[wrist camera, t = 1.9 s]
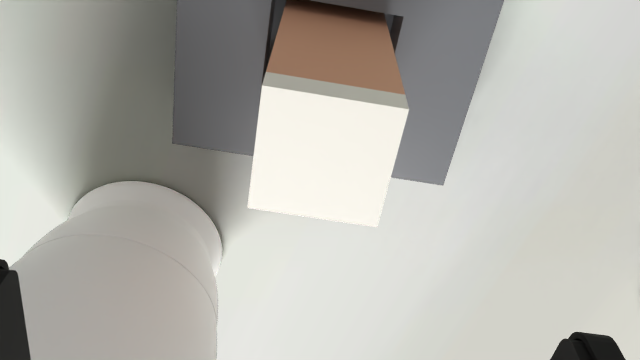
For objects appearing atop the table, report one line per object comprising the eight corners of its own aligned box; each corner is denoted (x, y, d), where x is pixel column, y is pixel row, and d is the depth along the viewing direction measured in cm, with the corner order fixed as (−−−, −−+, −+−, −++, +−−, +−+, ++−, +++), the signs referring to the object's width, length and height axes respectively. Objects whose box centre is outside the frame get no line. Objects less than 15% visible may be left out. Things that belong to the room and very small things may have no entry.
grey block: (489, -40, 24) (511, -22, 21) (431, 148, 28) (443, 185, 26) (200, -93, 23) (179, -82, 20) (189, 109, 28) (172, 143, 25)
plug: (383, 9, 24) (409, 109, 16) (363, 97, 26) (377, 227, 18) (288, -7, 24) (261, 85, 15) (276, 82, 26) (247, 207, 17)
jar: (56, 295, 34) (-110, 572, 22) (43, 145, 29) (-189, 394, 16) (233, 320, 35) (174, 603, 22) (251, 178, 30) (188, 443, 17)
